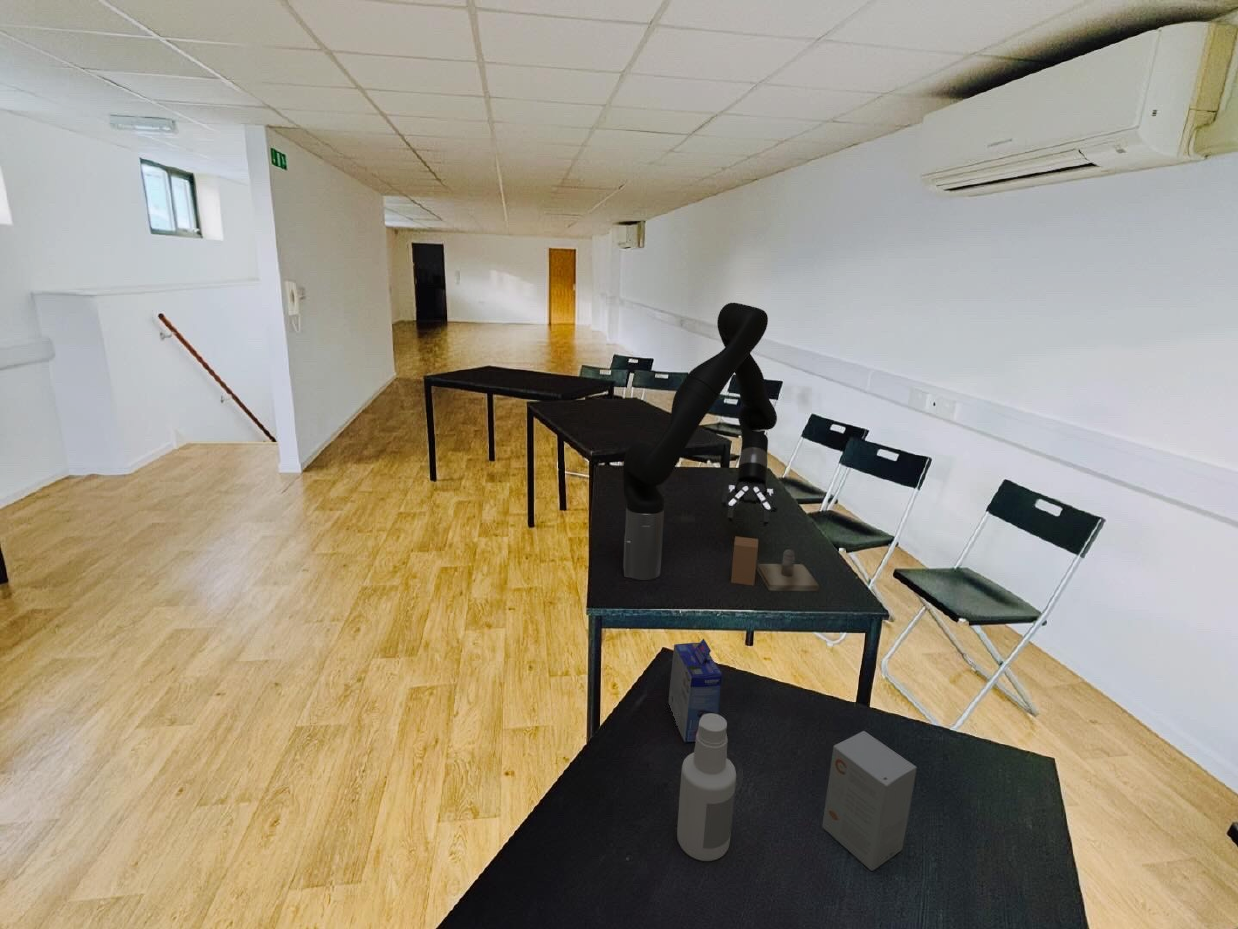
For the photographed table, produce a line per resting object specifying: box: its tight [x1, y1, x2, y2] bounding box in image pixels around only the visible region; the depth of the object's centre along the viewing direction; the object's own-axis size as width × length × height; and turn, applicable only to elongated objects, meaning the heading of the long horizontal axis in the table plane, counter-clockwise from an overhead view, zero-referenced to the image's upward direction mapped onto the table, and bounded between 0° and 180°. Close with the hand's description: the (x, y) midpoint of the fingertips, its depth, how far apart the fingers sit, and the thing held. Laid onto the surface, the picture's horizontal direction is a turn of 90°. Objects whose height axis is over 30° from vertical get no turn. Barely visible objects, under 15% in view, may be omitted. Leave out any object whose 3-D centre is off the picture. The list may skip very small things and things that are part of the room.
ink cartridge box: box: [667, 638, 723, 743], centre depth 103 cm, size 10×6×14 cm, turn 12°
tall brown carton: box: [730, 536, 759, 586], centre depth 156 cm, size 6×6×10 cm
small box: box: [821, 730, 917, 872], centre depth 82 cm, size 8×6×13 cm
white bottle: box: [676, 713, 737, 862], centre depth 80 cm, size 7×7×18 cm
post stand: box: [756, 548, 820, 592], centre depth 157 cm, size 12×12×8 cm
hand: (747, 522), depth 162 cm, fingers open, 8 cm apart
